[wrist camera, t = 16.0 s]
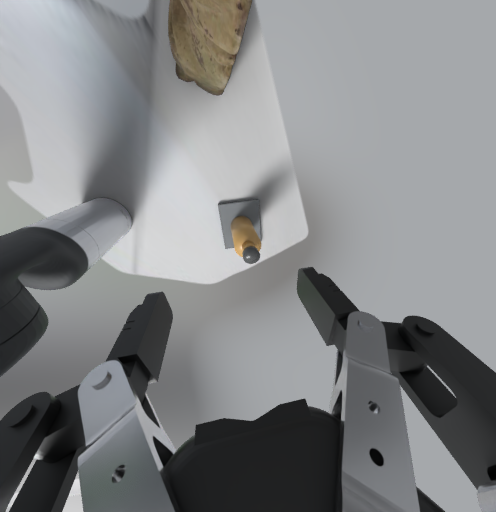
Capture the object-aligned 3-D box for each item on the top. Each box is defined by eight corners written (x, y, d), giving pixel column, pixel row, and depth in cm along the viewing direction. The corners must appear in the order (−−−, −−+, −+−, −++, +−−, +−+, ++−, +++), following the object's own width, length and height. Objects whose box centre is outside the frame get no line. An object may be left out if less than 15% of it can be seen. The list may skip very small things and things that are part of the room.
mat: (225, 247, 49) (225, 248, 49) (217, 204, 43) (218, 205, 42) (260, 241, 50) (260, 243, 50) (257, 199, 44) (258, 200, 43)
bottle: (231, 237, 47) (238, 270, 34) (229, 217, 44) (235, 245, 31) (252, 234, 48) (266, 266, 35) (251, 214, 45) (266, 241, 32)
